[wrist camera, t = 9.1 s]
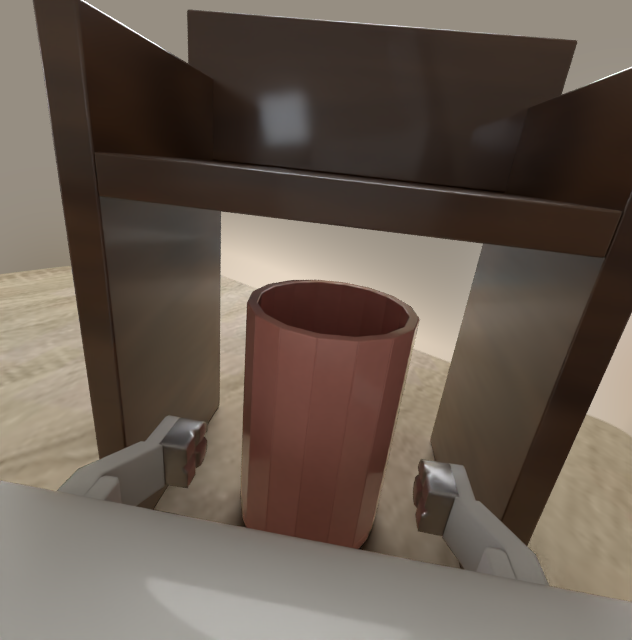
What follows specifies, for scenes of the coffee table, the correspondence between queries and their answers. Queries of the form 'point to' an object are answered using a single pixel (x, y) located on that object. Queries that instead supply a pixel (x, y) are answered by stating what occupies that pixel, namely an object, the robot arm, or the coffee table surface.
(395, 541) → the coffee table surface
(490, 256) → the dark wooden stand
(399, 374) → the cup
